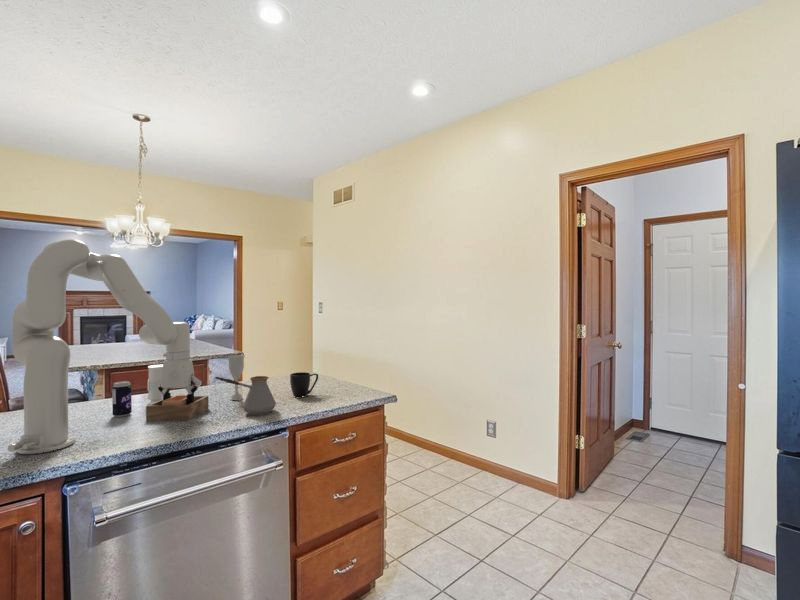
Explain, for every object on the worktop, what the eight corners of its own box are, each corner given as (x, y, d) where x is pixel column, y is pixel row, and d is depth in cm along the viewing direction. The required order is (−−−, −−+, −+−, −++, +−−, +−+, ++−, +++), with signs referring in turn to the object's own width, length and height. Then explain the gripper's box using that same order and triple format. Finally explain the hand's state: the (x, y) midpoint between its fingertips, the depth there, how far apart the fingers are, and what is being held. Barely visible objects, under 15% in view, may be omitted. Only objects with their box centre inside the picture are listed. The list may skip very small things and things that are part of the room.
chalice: (245, 400, 167) (245, 356, 167) (227, 402, 165) (227, 357, 165) (245, 396, 174) (244, 354, 174) (227, 398, 172) (227, 355, 172)
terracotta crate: (180, 415, 143) (180, 401, 143) (162, 415, 143) (162, 401, 143) (194, 408, 152) (193, 394, 152) (176, 408, 152) (176, 395, 152)
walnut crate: (188, 420, 140) (188, 405, 140) (146, 420, 140) (146, 406, 140) (208, 408, 155) (208, 395, 155) (170, 409, 155) (170, 396, 155)
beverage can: (121, 418, 143) (121, 384, 143) (108, 417, 145) (108, 383, 145) (135, 413, 149) (135, 381, 149) (122, 413, 150) (122, 380, 150)
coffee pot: (269, 406, 157) (269, 368, 157) (280, 413, 148) (280, 372, 148) (210, 416, 145) (209, 374, 145) (217, 424, 135) (217, 379, 135)
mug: (321, 395, 175) (320, 373, 175) (293, 399, 169) (293, 376, 169) (315, 392, 182) (315, 370, 182) (288, 395, 176) (288, 373, 176)
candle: (145, 403, 164) (145, 366, 164) (164, 399, 170) (163, 364, 170) (150, 406, 160) (150, 367, 160) (170, 402, 165) (169, 365, 165)
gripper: (147, 357, 144) (148, 407, 144) (196, 357, 144) (197, 407, 144) (160, 354, 151) (161, 402, 151) (207, 354, 151) (207, 401, 151)
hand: (178, 404), depth 148 cm, fingers open, 7 cm apart
